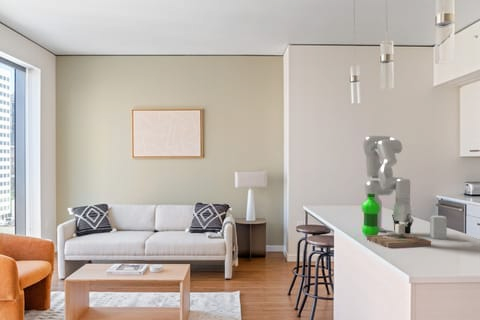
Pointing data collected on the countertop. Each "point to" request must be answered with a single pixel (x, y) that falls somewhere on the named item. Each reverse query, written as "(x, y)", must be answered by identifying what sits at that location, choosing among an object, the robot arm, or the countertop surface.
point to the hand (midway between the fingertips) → (402, 231)
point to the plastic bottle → (370, 216)
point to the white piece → (399, 230)
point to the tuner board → (398, 240)
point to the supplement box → (438, 227)
